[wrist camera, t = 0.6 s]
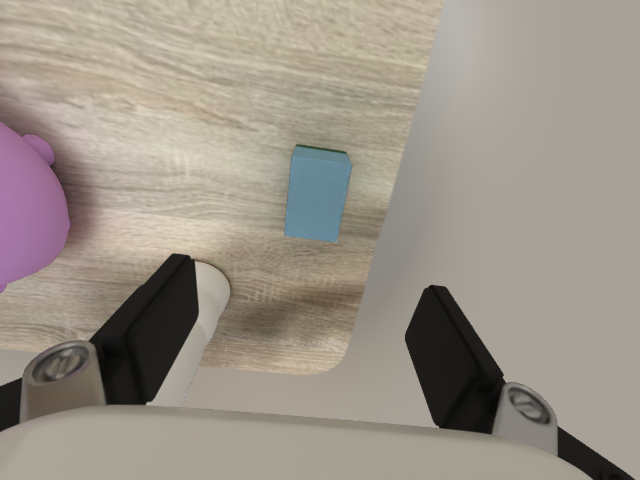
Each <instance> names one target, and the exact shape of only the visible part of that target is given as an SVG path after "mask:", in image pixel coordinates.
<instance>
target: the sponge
mask: <svg viewBox="0 0 640 480" xmlns="http://www.w3.org/2000/svg"><path fill="white" fill-rule="evenodd" d="M351 169H352V164H351V162H350V160H349V157H348V155H347V153H346V152H344V151H337V150H331V149H324V148H318V147H311V146H305V145H298V144H297V145H296V148H295V150H294V152H293V154H292V158H291V168H290V179H289V189H288V200H287V210H286V221H285V231H284V235H285V236H291V237H299V238H307V239H315V240H322V241H330V242H337V238H338V233H339V228H340V223H341V218H342V213H343V208H344V203H345V198H346V193H347V188H348V183H349V178H350V174H351Z"/></svg>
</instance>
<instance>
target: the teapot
mask: <svg viewBox="0 0 640 480" xmlns="http://www.w3.org/2000/svg"><path fill="white" fill-rule="evenodd" d="M54 160H55V155H54V152H53V150H52V148H51V147H50V145H49V144H48V143H47V142H46V141H45V140H43V139H42V138H40V137H38V136H35V135H31V134H28V135H24V136H22V137H21V136H20V135H18V134H17V133H15V132H14V131H13V130H11V129H10V128H8V127H7V126H6V125H4V124H3V123H1V122H0V293H2V292H3V291H4V289H5V288H6V286H7V284H8V283H11V282H14V281H16V280H19V279H21V278H24V277H26V276H28V275H31V274H33V273H35V272H37V271H39V270H41V269H42V268H44V267H46V266H47V265H49V264H50V263H52V262H53V261H54V260H55V259H56V258H57V256H58V255H59V254H60V252H61V251H62V249H63V247H64V245H65V243H66V240H67V236H68V230H70V228H71V221H70V219H69V213H68V207H67V201H66V198H65V195H64V191H63V189H62V187H61V185H60V182H59V180H58V179H57V177H56V175H55V174H54V172H53V170H52V169H51V168H50V166H51V165H52V164H53V163H54Z"/></svg>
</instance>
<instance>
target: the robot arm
mask: <svg viewBox="0 0 640 480" xmlns="http://www.w3.org/2000/svg"><path fill="white" fill-rule="evenodd" d="M198 315H199V303H198V291H197V280H196V268H195V261H194V260H193V259H191V258H190V256H189V255H183V254H175V253H174V254H172V255H171V256H170V257H169V258H168V259H167V260H166V261H165V262H164V263H163V264H162V265H161V266H160V268H159V269H158V270H157V271H156V272H155V273H154V274H153V275H152V276H151V277H150V278H149V279H148V281H147V282H146V283H145V284H144V285H141V286H140V287H139V288H137V289H136V291H135V292H134V293H133V294H132V295H131V296H130V297H129V298H128V299H127V300H126V301H125V302H124V303H123V304H122V306H121V307H120V308H119V309H118V310H117V311H116V312H115V313H114V314H113V315H112V316H111V317H110V318H109V319H108V321H107V322H106V323H105V324H104V325H103V326H102V327H101V328H100V329H99V330H98V331H97V332H96V333H95V334H94V335H93V337H92V338H91V339H90V340H89V341H83V340H76V341H69V342H65V343H61V344H58V345H56V346H53V347H51V348H49V349H47V350H45V351H44V352H42V353H40V354H39V355H38V356H37V357H35V358H34V359H33V360H32V361H31V362H30V363H29V364H28V366H27V367H26V368H25V370H24V373H23V377H22V378H19V379H17V380H15V381H12V382H10V383H7V384H5V385H2V386H0V480H635V479H634V478H632V477H631V476H630V475H628V474H627V473H626V472H624V471H623V470H621V469H620V468H619V467H617V466H616V465H614V464H613V463H611V462H610V461H608V460H607V459H605V458H604V457H602V456H601V455H599V454H598V453H596V452H595V451H593V450H592V449H590V448H589V447H588V446H586V445H585V444H583V443H582V442H580V441H579V440H577V439H576V438H575V437H573V436H572V435H570V434H569V433H567V432H566V431H564V430H563V429H561V428H560V427H558V426H557V418H556V415H555V413H554V411H553V409H552V408H551V406H550V405H549V404H548V403H547V402H546V400H544V399H543V398H542V397H541V396H540V395H539V394H538V393H536V392H535V391H533V390H532V389H531V388H529V387H527V386H525V385H523V384H520V383H516V382H509V383H506V382H505V381H504V379H503V375H504V374H503V373H502V371H501V370H500V368H499V366H498V365H497V363H496V362H495V360H494V359H493V357H492V356H491V354H490V353H489V351H488V350H487V349H486V347H485V345H484V344H483V342H482V341H481V339H480V338H479V336H478V335H477V333H476V332H475V330H474V329H473V327H472V326H471V324H470V322H469V321H468V320H467V318H466V317H465V315H464V313H463V312H462V310H461V309H460V307H459V306H458V304H457V303H456V302H455V300H454V298H453V297H452V295H451V294H450V292H449V291H448V289H447V288H446V287H444V286H436V285H430V286H429V287H428V288H425V289H424V291H423V293H422V296H421V298H420V300H419V303H418V305H417V307H416V310H415V312H414V314H413V317H412V319H411V322H410V324H409V326H408V329H407V331H406V334H405V342H406V344H407V348H408V350H409V353H410V356H411V359H412V362H413V364H414V368H415V370H416V373H417V376H418V379H419V382H420V385H421V387H422V390H423V393H424V396H425V399H426V402H427V405H428V408H429V411H430V413H431V416H432V419H433V422H434V423H435V424H436V425H437V426H439V428H432V427H420V426H409V425H397V424H386V423H375V422H363V421H351V420H338V419H326V418H315V417H302V416H290V415H277V414H265V413H252V412H238V411H225V410H212V409H199V408H183V407H166V406H149V405H146V404H147V402H152V401H153V400H154V398H155V397H156V395H157V393H158V391H159V389H160V388H161V386H162V384H163V382H164V380H165V378H166V376H167V375H168V373H169V371H170V369H171V367H172V365H173V363H174V362H175V360H176V358H177V356H178V354H179V352H180V351H181V349H182V347H183V345H184V343H185V341H186V339H187V338H188V336H189V334H190V332H191V330H192V328H193V326H194V325H195V323H196V321H197V319H198Z"/></svg>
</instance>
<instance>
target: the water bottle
mask: <svg viewBox="0 0 640 480" xmlns="http://www.w3.org/2000/svg"><path fill="white" fill-rule="evenodd" d="M195 268H196V280H197V291H198V303H199V315H198V319H197V321H196V323H195V325H194V326H193V328H192V330H191V332H190V334H189V336H188V338H187V339H186V341H185V343H184V345H183V347H182V349H181V351H180V352H179V354H178V356H177V358H176V360H175V362H174V363H173V365H172V367H171V369H170V371H169V373H168V375H167V376H166V378H165V380H164V382H163V384H162V386H161V388H160V389H159V391H158V393H157V395H156V397H155V398H154V400H153V401H152V402H147V404H146V405H149V406H166V407H181V406H182V404H183V402H184V399H185V397H186V395H187V393H188V390H189V388H190V386H191V383H192V381H193V379H194V376H195V374H196V371H197V369H198V366H199V364H200V361H201V358H202V355H203V352H204V349H205V347H206V346H207V344H208V343H209V341H210V340H211V338H212V336H213V334H214V332H215V329H216V326H217V323H218V319H219V317H220V316H221V314H222V313H223V311H224V309H225V307H226V305H227V303H228V300H229V297H230V285H229V283H228V281H227V279H226V277H225V276H224V275H223V274H222V273H221V272H220V271H219V270H218V269H216V268H215V267H213V266H211V265H209V264H206V263H203V262H197V261H195Z"/></svg>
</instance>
